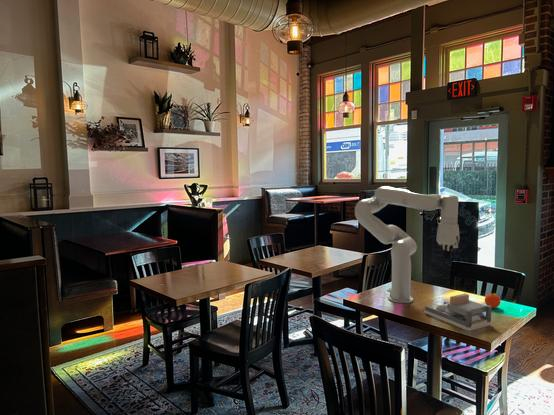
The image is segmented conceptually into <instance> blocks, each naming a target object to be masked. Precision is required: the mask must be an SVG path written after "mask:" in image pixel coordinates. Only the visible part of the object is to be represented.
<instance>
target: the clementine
mask: <svg viewBox="0 0 554 415" xmlns="http://www.w3.org/2000/svg"><path fill="white" fill-rule="evenodd" d="M484 303H485V305H486V306H492V309H495V308H497V307H500V304H501V298H500V296H499V294H497V293H489V294H486V296H485V297H484Z"/></svg>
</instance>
